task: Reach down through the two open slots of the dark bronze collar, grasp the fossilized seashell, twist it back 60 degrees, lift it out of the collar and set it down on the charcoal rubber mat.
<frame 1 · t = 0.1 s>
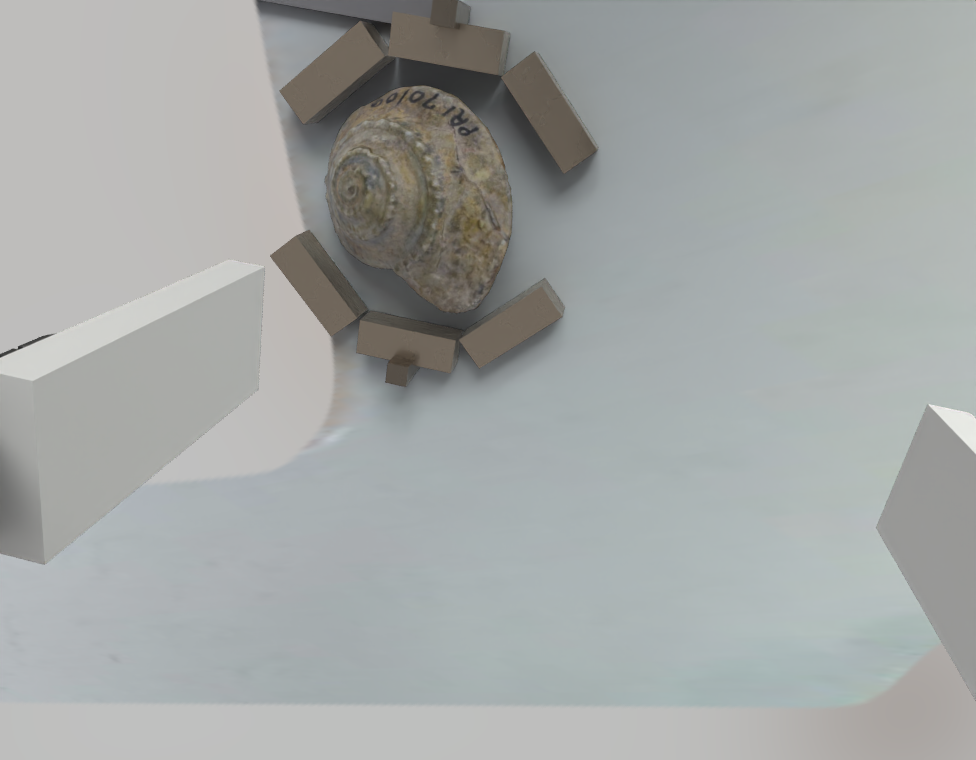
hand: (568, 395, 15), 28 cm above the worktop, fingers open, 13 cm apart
fossilized seashell: (432, 200, 43), on the worktop
collar: (432, 201, 42), on the worktop
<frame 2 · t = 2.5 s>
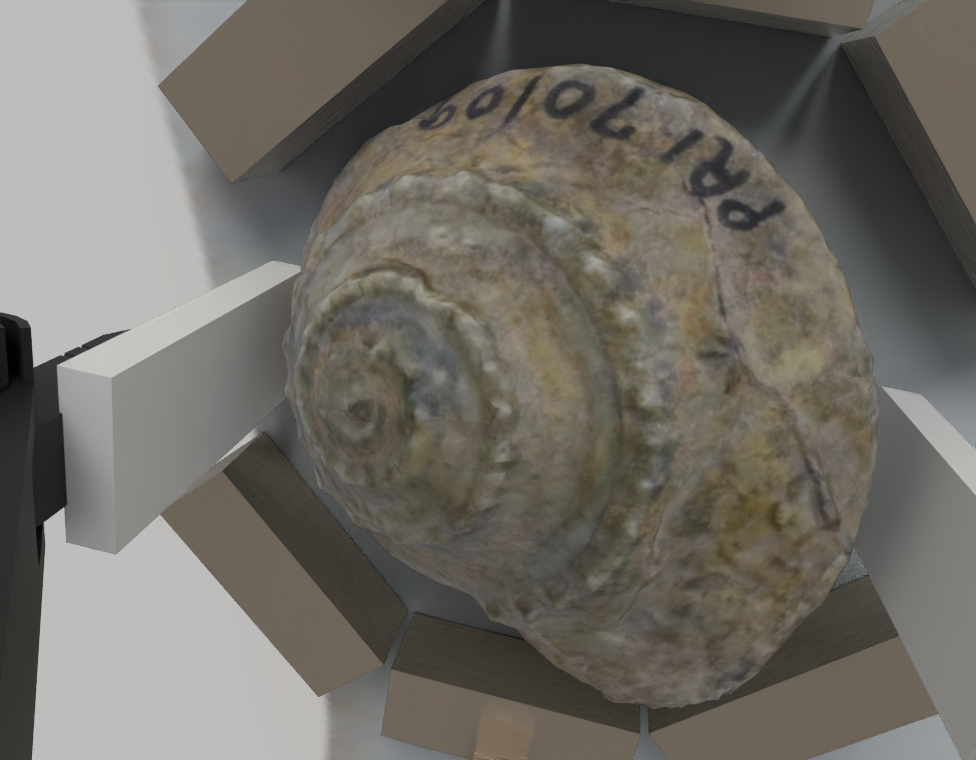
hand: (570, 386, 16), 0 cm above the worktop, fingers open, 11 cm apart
fossilized seashell: (568, 369, 16), on the worktop, touching gripper
collar: (584, 377, 16), on the worktop
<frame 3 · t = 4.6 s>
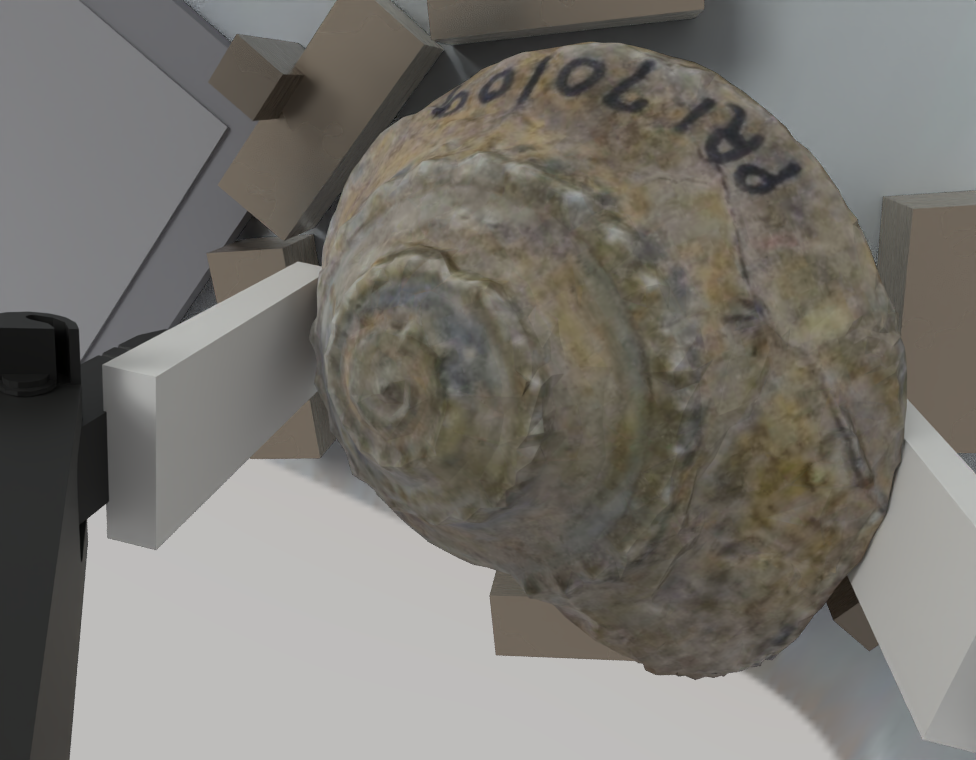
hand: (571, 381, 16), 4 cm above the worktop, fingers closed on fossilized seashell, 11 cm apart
fossilized seashell: (591, 349, 17), point 3 cm above the worktop, touching gripper
mat: (1, 148, 21), on the worktop
collar: (584, 325, 20), on the worktop
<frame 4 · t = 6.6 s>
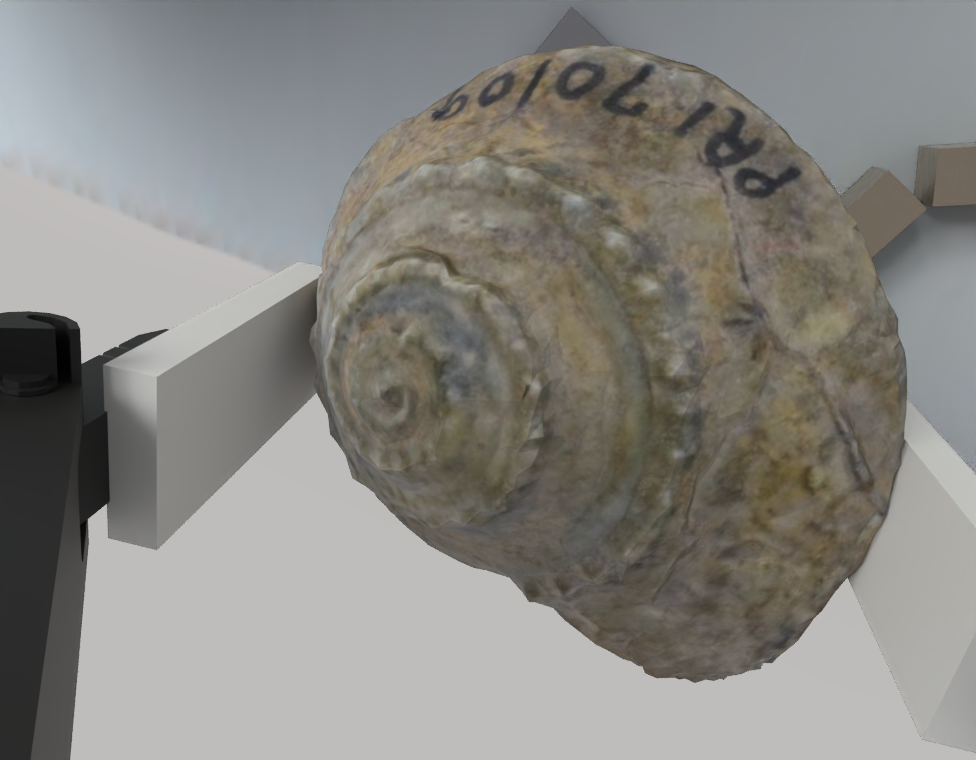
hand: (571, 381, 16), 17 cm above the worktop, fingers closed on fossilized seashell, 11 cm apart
fossilized seashell: (590, 351, 17), point 16 cm above the worktop, touching gripper
mat: (580, 249, 32), on the worktop
collar: (969, 371, 31), on the worktop
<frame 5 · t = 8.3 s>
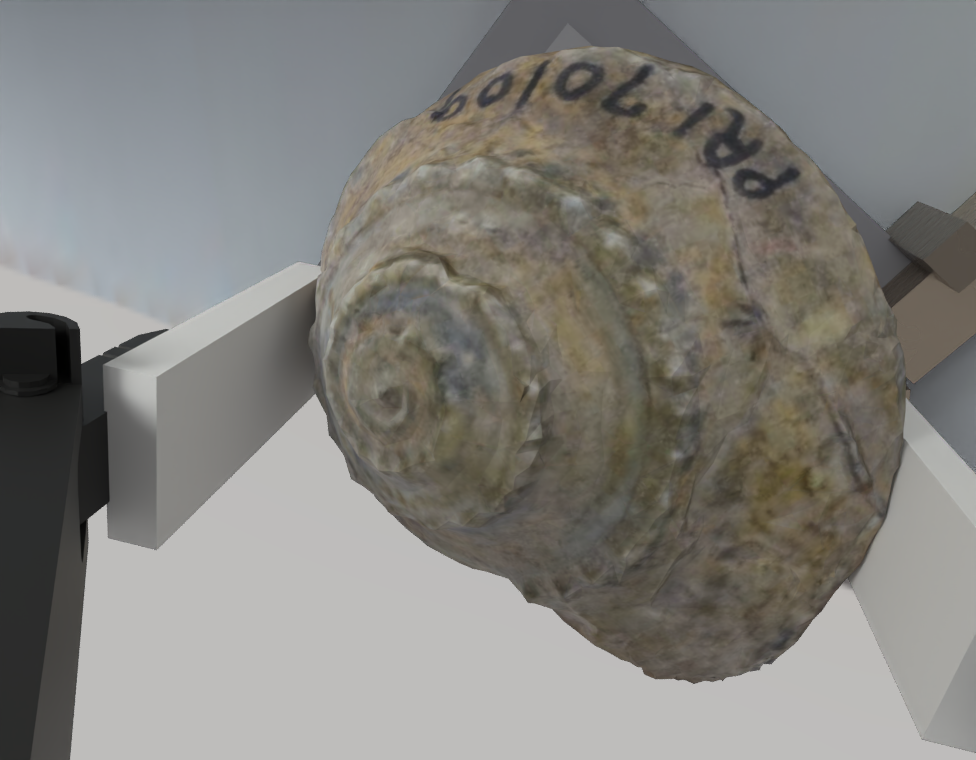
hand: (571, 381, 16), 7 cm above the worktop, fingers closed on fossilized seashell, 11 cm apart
fossilized seashell: (590, 352, 17), point 7 cm above the worktop, touching gripper
mat: (583, 285, 23), on the worktop
when the fingers open (2 cm above the worktop, at t = 9.7 s): fossilized seashell moves 1 cm, resting on mat.
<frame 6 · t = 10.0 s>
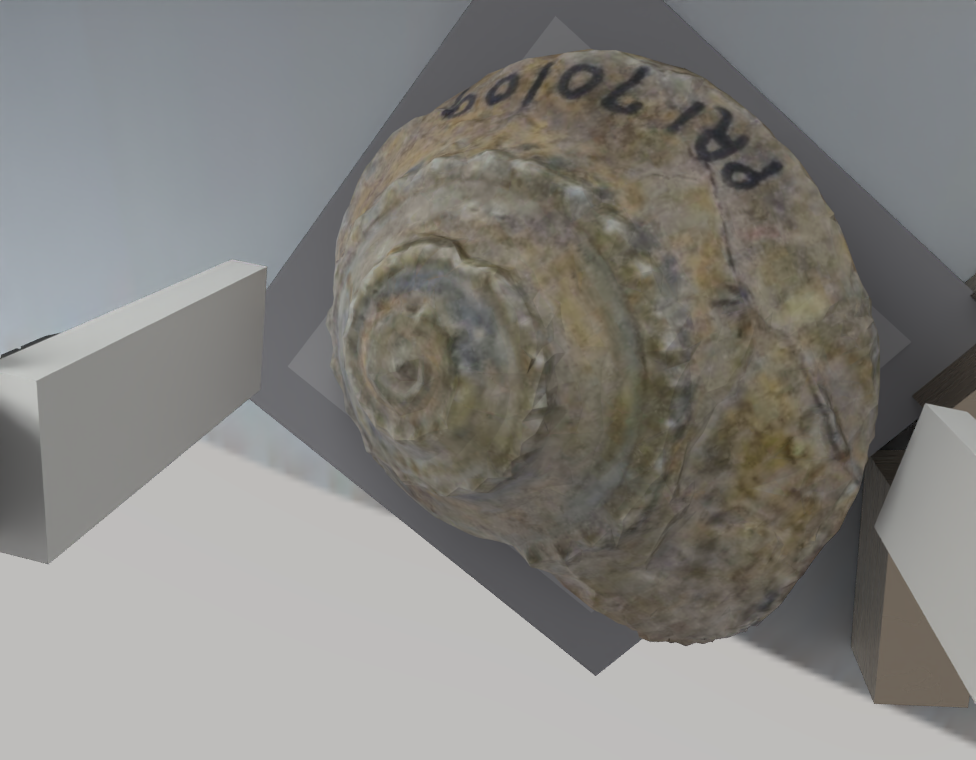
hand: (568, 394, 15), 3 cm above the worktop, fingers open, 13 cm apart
fossilized seashell: (588, 337, 18), resting on mat
mat: (577, 345, 18), on the worktop
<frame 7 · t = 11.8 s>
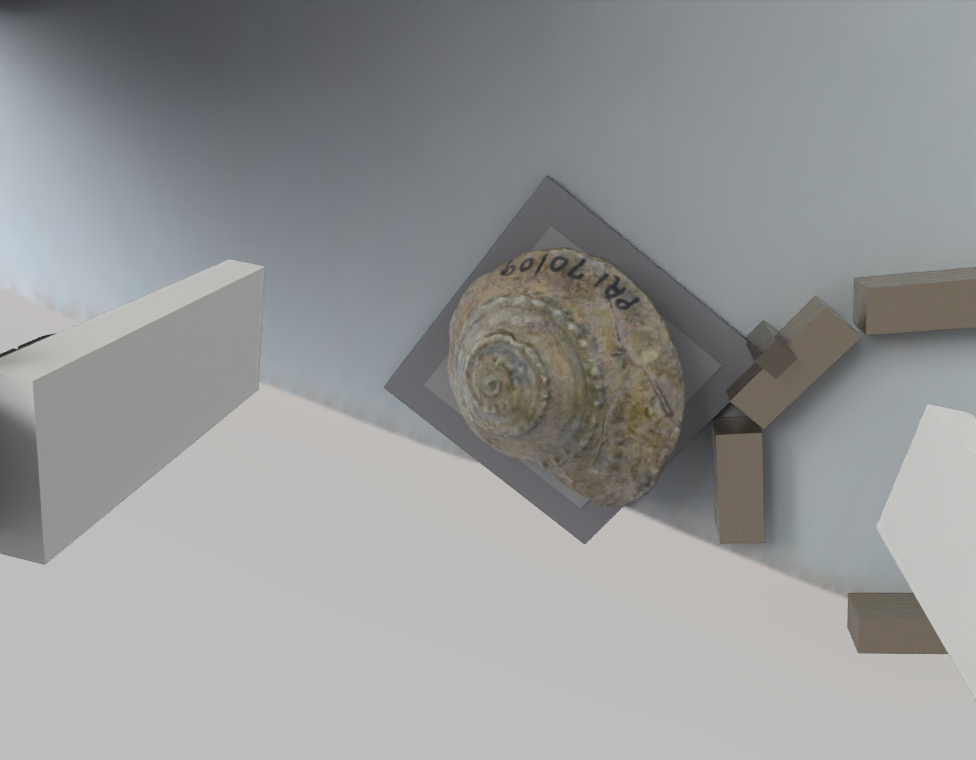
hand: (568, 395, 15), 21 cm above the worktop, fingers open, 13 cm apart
fossilized seashell: (569, 367, 36), resting on mat
mat: (568, 370, 37), on the worktop
collar: (915, 463, 35), on the worktop
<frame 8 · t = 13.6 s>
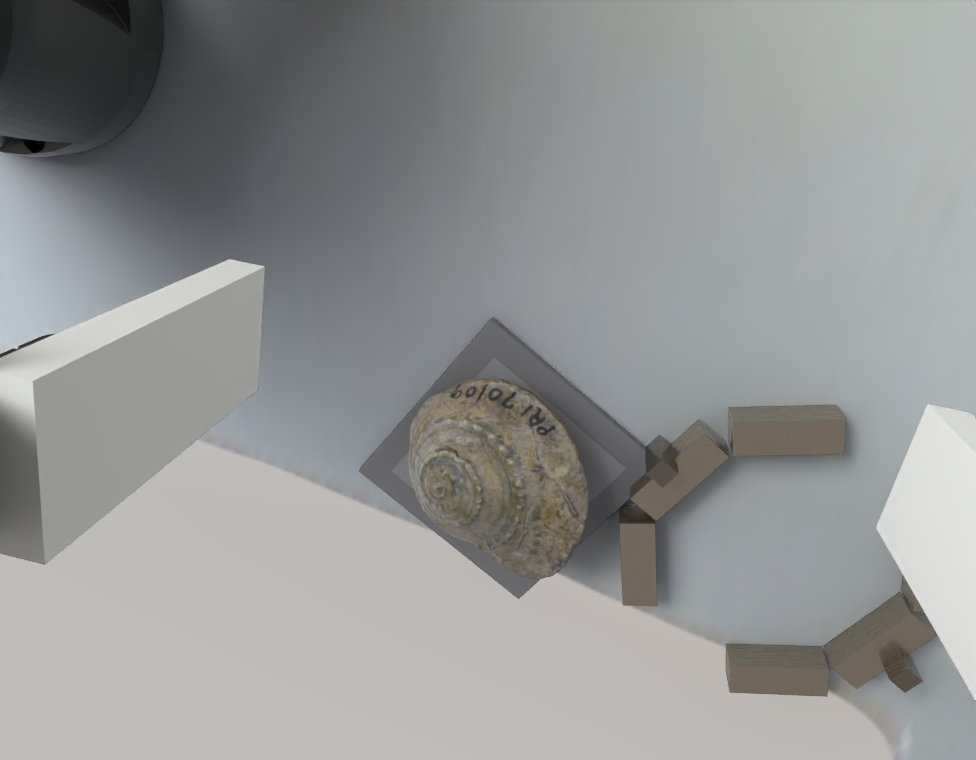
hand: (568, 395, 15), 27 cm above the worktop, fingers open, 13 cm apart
fossilized seashell: (505, 463, 45), resting on mat
mat: (507, 464, 46), on the worktop
collar: (776, 547, 45), on the worktop
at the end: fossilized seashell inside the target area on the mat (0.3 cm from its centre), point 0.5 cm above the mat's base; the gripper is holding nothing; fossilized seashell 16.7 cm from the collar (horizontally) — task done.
